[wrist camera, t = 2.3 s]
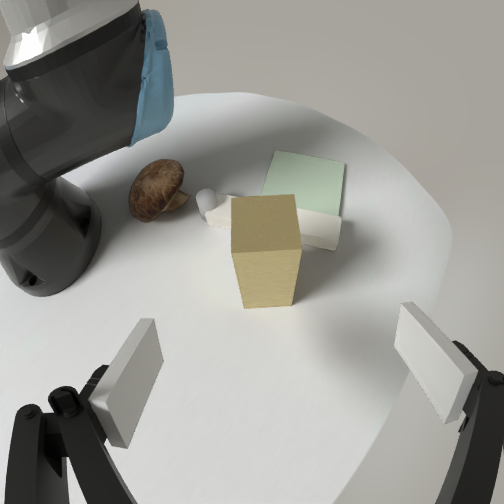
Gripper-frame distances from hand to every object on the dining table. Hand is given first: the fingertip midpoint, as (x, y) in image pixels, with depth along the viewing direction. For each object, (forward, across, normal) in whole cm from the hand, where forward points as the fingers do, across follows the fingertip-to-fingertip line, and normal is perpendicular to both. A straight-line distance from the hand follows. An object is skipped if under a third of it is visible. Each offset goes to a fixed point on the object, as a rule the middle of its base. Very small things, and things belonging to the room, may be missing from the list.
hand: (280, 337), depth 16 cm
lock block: (+15, 0, -3) cm, 15 cm away
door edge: (+20, +1, +2) cm, 20 cm away
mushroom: (+23, -12, +4) cm, 26 cm away
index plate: (+24, +5, +6) cm, 25 cm away
